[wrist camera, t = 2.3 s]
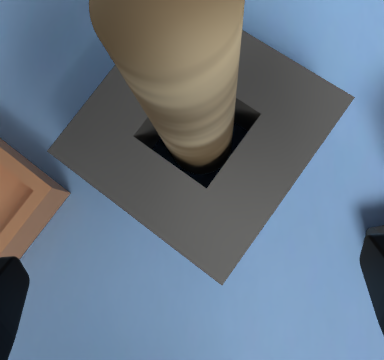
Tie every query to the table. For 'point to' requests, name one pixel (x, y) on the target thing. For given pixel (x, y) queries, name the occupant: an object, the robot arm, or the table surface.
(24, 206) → the tray
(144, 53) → the dowel
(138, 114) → the holder
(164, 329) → the table surface
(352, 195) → the table surface
